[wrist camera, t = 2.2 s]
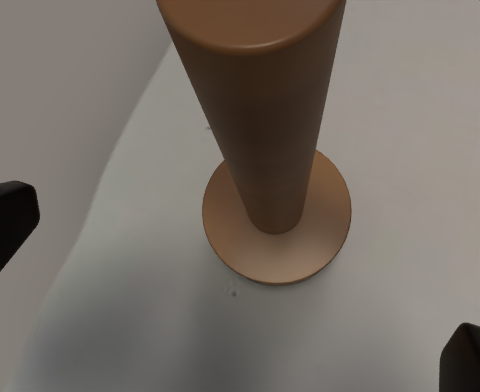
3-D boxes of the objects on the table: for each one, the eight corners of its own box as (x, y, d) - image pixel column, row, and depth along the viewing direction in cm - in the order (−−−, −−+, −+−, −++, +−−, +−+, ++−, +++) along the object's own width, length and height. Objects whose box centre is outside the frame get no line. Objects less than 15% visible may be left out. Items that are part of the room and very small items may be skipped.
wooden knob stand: (298, 312, 18) (362, 380, 3) (190, 241, 19) (-113, 58, 4) (364, 201, 18) (649, -145, 4) (257, 140, 20) (184, -278, 5)
